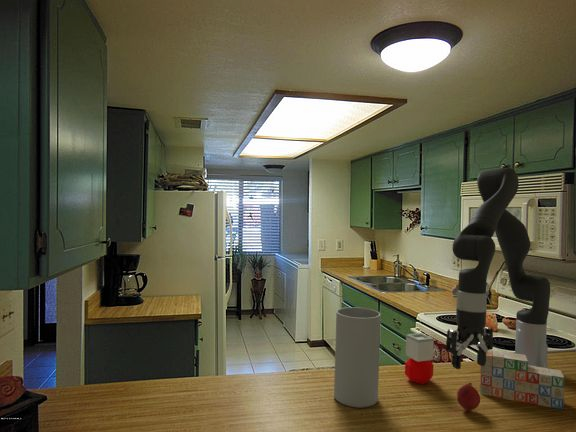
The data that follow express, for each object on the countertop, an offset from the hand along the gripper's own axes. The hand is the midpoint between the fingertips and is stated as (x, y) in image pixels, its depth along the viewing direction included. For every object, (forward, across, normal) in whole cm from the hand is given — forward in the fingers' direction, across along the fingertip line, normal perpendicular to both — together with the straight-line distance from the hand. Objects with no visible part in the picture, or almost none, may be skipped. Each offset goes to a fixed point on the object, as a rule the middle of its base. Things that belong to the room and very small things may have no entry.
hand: (468, 366), depth 114 cm
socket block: (+5, 0, -21) cm, 21 cm away
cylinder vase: (+13, +26, -16) cm, 33 cm away
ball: (+12, 0, -21) cm, 24 cm away
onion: (+12, 0, 0) cm, 13 cm away
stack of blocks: (+12, -22, -2) cm, 25 cm away
